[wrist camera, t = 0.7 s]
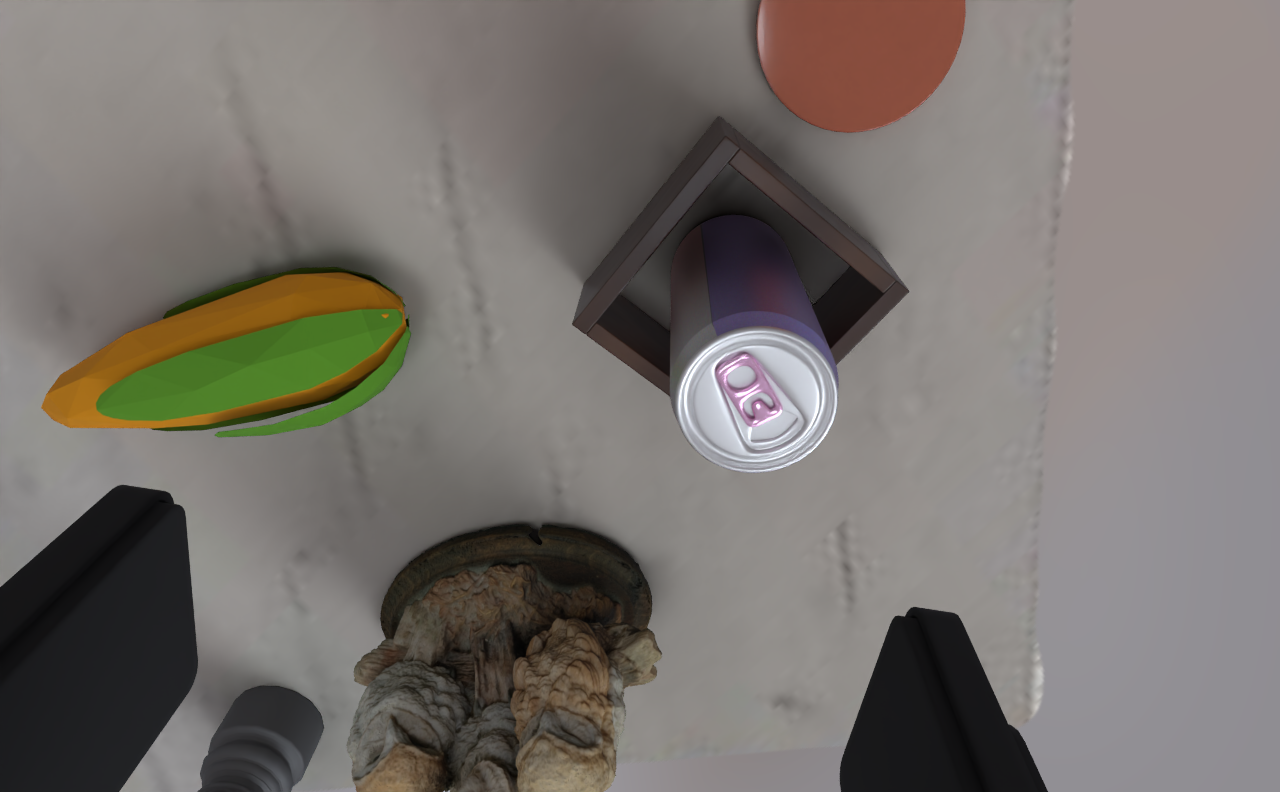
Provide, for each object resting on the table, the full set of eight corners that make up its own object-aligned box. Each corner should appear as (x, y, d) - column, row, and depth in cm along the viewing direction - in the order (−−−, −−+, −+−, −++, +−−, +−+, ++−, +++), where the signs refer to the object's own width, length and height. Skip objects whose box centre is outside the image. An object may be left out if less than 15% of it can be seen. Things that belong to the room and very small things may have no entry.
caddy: (582, 285, 44) (571, 324, 39) (719, 115, 40) (725, 135, 35) (740, 403, 46) (748, 454, 41) (882, 254, 42) (910, 291, 37)
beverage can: (755, 188, 41) (794, 291, 28) (811, 290, 43) (873, 431, 30) (648, 250, 43) (637, 376, 29) (708, 345, 45) (722, 504, 31)
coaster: (713, 43, 38) (714, 44, 38) (857, -143, 35) (859, -144, 35) (858, 170, 41) (860, 173, 40) (1006, 7, 37) (1010, 7, 37)
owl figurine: (631, 487, 49) (612, 721, 33) (691, 640, 54) (698, 907, 38) (349, 561, 52) (213, 808, 36) (430, 700, 57) (339, 969, 41)
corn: (411, 423, 39) (31, 517, 42) (454, 365, 46) (126, 449, 49) (347, 267, 36) (-54, 379, 39) (402, 231, 43) (60, 328, 46)
